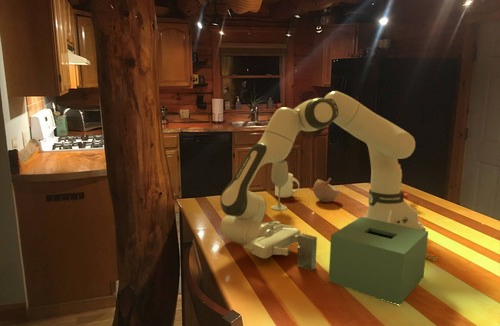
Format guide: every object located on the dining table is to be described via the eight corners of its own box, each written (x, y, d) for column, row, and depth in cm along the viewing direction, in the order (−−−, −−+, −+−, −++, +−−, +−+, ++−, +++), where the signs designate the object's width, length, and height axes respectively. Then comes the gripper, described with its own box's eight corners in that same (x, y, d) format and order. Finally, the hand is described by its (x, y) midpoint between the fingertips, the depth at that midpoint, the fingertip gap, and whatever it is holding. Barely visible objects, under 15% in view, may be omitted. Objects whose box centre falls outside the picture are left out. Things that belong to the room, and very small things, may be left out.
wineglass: (290, 207, 182) (291, 161, 178) (282, 211, 176) (283, 164, 171) (275, 204, 186) (276, 159, 182) (267, 208, 180) (268, 162, 175)
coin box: (328, 281, 114) (331, 234, 111) (358, 258, 129) (361, 216, 127) (399, 306, 102) (404, 254, 99) (423, 277, 117) (428, 231, 114)
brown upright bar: (297, 266, 123) (298, 235, 122) (301, 263, 125) (302, 233, 123) (311, 271, 120) (312, 239, 118) (315, 268, 122) (316, 237, 120)
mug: (297, 199, 195) (298, 177, 192) (273, 197, 198) (273, 175, 196) (300, 194, 203) (301, 173, 201) (277, 192, 206) (277, 172, 204)
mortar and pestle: (341, 205, 185) (342, 181, 183) (314, 205, 185) (315, 181, 183) (335, 198, 197) (337, 175, 194) (311, 197, 197) (312, 175, 194)
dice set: (435, 263, 127) (436, 257, 127) (418, 261, 129) (419, 255, 129) (434, 257, 132) (434, 251, 132) (417, 254, 134) (417, 249, 133)
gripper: (241, 236, 124) (277, 248, 116) (279, 219, 140) (314, 228, 131) (241, 256, 125) (277, 268, 117) (279, 236, 141) (313, 247, 132)
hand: (297, 247), depth 124 cm, fingers open, 8 cm apart
